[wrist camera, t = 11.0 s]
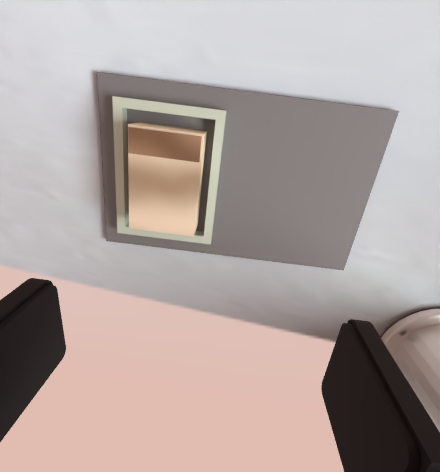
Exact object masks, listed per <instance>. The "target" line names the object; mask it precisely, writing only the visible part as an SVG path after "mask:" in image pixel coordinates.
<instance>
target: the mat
mask: <svg viewBox="0 0 440 472" xmlns="http://www.w3.org/2000/svg"><path fill="white" fill-rule="evenodd" d="M97 80H98V97H99V115H100V133H101V151H102V169H103V187H104V205H105V223H106V241H113V242H121V243H129V244H137V245H145V246H153V247H161V248H169V249H177V250H185V251H193V252H201V253H209V254H217V255H225V256H233V257H241V258H249V259H257V260H265V261H274V262H282V263H290V264H298V265H306V266H314V267H322V268H330V269H338V270H344V267H345V264H346V262H347V259H348V256H349V253H350V250H351V247H352V244H353V242H354V239H355V236H356V233H357V230H358V227H359V224H360V221H361V219H362V216H363V213H364V210H365V207H366V204H367V201H368V198H369V196H370V193H371V190H372V187H373V184H374V181H375V178H376V176H377V173H378V170H379V167H380V164H381V161H382V158H383V155H384V153H385V150H386V147H387V144H388V141H389V138H390V135H391V133H392V130H393V127H394V124H395V121H396V118H397V115H398V112H399V111H395V110H387V109H379V108H372V107H364V106H356V105H348V104H341V103H333V102H325V101H317V100H310V99H302V98H294V97H287V96H279V95H271V94H263V93H256V92H248V91H240V90H232V89H225V88H217V87H209V86H201V85H194V84H186V83H178V82H171V81H163V80H155V79H147V78H140V77H132V76H124V75H116V74H109V73H101V72H97ZM112 96H116V97H124V98H132V99H139V100H147V101H155V102H163V103H170V104H178V105H186V106H194V107H202V108H209V109H217V110H225V111H226V119H225V128H224V136H223V145H222V154H221V162H220V171H219V179H218V188H217V197H216V205H215V214H214V223H213V231H212V240H211V244H203V243H195V242H187V241H179V240H171V239H163V238H154V237H146V236H138V235H130V234H122V233H117V208H116V182H115V155H114V129H113V102H112ZM215 121H216V120H213V119H205V118H198V117H190V116H182V115H174V114H167V113H159V112H151V111H143V110H135V109H128V108H127V139H128V124H132V123H139V122H143V123H150V124H158V125H165V126H173V127H180V128H188V129H195V130H203V131H207V136H206V147H205V157H204V167H203V178H202V188H201V198H200V209H199V219H198V225H197V228H196V231H203V232H204V229H205V219H206V209H207V199H208V189H209V180H210V170H211V160H212V150H213V141H214V131H215ZM128 193H129V174H128Z"/></svg>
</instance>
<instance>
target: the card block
mask: <svg viewBox="0 0 440 472" xmlns="http://www.w3.org/2000/svg"><path fill="white" fill-rule="evenodd" d="M206 136H207V131H203V130H195V129H188V128H180V127H173V126H165V125H158V124H150V123H143V122H139V123H132V124H128V174H129V228H131V229H138V230H146V231H154V232H162V233H169V234H177V235H185V236H192V237H194V234H195V231H196V228H197V225H198V219H199V209H200V198H201V188H202V178H203V167H204V157H205V147H206Z"/></svg>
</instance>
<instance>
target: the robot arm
mask: <svg viewBox="0 0 440 472" xmlns="http://www.w3.org/2000/svg"><path fill="white" fill-rule="evenodd" d="M65 350H66V345H65V339H64V332H63V325H62V319H61V312H60V305H59V299H58V292H57V288H56V286H53V284H52V282H51V281H49V280H43V279H35V278H31V279H28V280H27V281H25V282H24V283H23V284H21V285H20V286H19V287H17V288H16V289H15V290H13V291H12V292H11V293H9V294H8V295H7V296H5V297H4V298H3V299H1V300H0V442H1V440H2V439H3V438H4V436H5V435H6V434H7V432H8V431H9V430H10V428H11V427H12V426H13V424H14V423H15V422H16V420H17V419H18V418H19V416H20V415H21V414H22V412H23V411H24V410H25V408H26V407H27V406H28V404H29V403H30V402H31V400H32V399H33V398H34V396H35V395H36V394H37V392H38V391H39V390H40V388H41V387H42V386H43V384H44V383H45V381H46V380H47V379H48V377H49V376H50V374H51V373H52V372H53V371H54V369H55V368H56V367H57V365H58V364H59V363H60V361H61V360H62V358H63V357H64V354H65ZM322 395H323V398H324V402H325V406H326V409H327V412H328V415H329V420H330V423H331V426H332V430H333V434H334V436H335V441H336V444H337V448H338V451H339V454H340V458H341V461H342V465H343V468H344V472H440V308H439V309H429V310H425V311H420V312H417V313H414V314H411V315H409V316H407V317H405V318H403V319H401V320H400V321H398V322H397V323H395V324H394V325H392V326H391V327H390V328H389V329H388V330H387V331H386V332H385V333H384V335H383V336H382V337H381V338H380V336H379V334H378V333H377V331H376V330H375V328H374V326H373V325H372V324H371V323H370V322H368V321H360V320H352V319H351V320H349V321H348V323H343V324H342V326H341V329H340V332H339V335H338V338H337V341H336V344H335V347H334V349H333V352H332V355H331V358H330V361H329V364H328V367H327V370H326V373H325V376H324V379H323V382H322Z"/></svg>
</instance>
